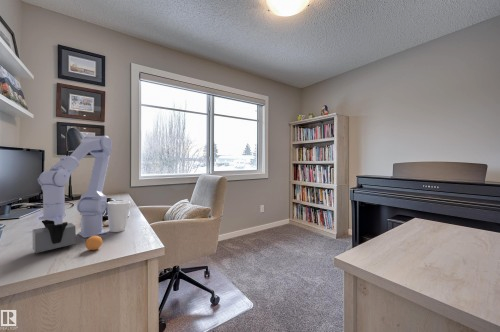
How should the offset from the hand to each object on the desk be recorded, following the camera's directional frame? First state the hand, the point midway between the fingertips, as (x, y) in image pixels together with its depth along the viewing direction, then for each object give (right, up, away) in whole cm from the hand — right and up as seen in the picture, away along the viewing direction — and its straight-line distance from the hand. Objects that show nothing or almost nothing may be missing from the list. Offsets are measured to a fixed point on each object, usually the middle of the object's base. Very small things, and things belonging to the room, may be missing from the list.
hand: (54, 240), depth 76 cm
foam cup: (+9, -3, +22) cm, 24 cm away
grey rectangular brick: (0, -2, 0) cm, 2 cm away
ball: (+14, -1, 0) cm, 14 cm away
